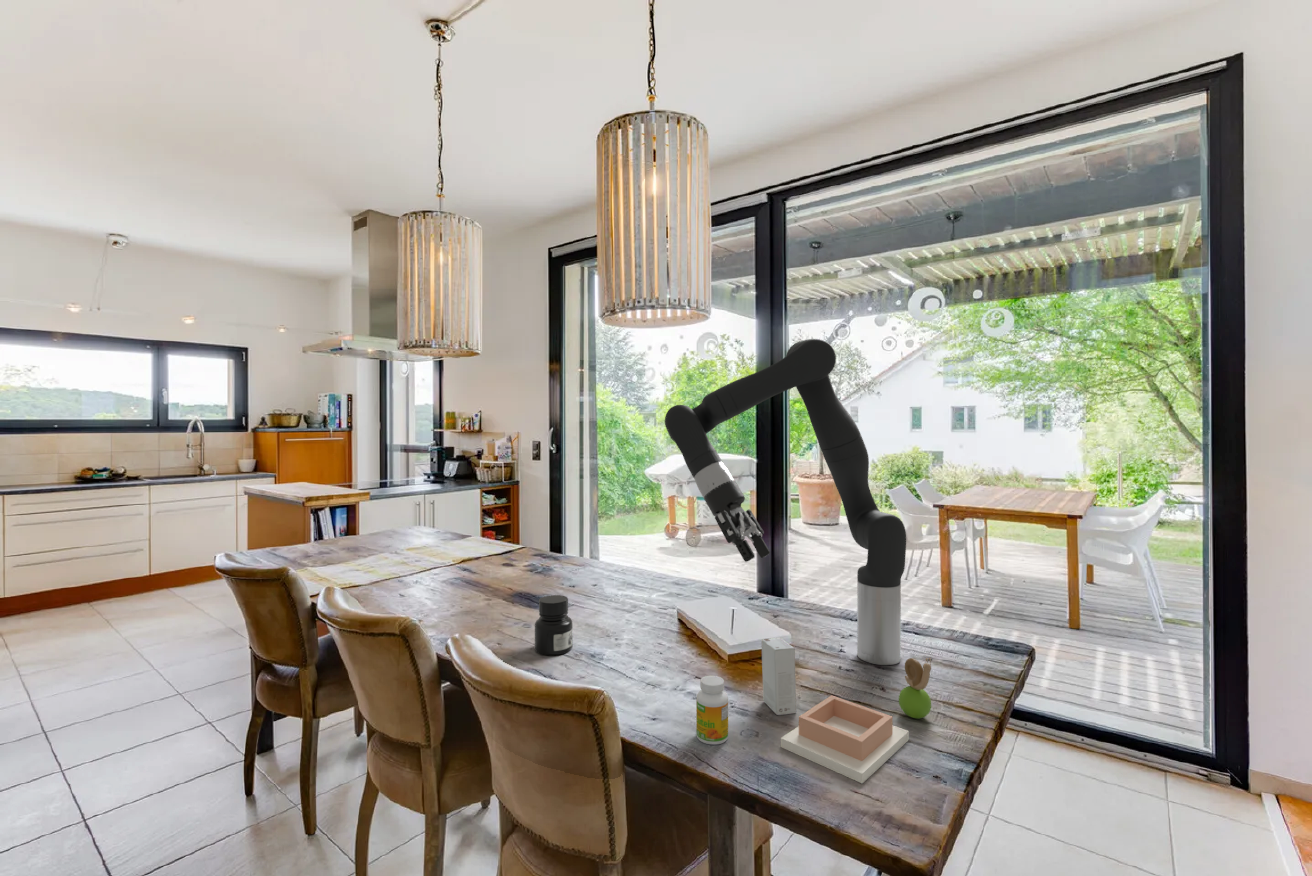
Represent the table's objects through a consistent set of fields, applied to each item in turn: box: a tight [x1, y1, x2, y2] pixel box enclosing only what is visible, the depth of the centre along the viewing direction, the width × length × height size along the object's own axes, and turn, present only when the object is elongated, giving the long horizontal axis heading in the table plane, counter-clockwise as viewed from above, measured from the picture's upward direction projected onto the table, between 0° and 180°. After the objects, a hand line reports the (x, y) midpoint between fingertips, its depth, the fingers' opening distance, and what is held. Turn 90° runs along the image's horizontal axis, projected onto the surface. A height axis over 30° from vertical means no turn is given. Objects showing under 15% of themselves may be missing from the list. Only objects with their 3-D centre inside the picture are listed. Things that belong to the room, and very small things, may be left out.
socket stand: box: [780, 694, 910, 784], centre depth 97 cm, size 17×14×4 cm
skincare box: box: [761, 637, 797, 716], centre depth 110 cm, size 6×4×12 cm
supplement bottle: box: [695, 675, 729, 746], centre depth 99 cm, size 5×5×10 cm
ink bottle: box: [534, 594, 574, 656], centre depth 139 cm, size 10×9×12 cm
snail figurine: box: [898, 657, 933, 720], centre depth 105 cm, size 5×6×12 cm
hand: (758, 557), depth 117 cm, fingers open, 8 cm apart
